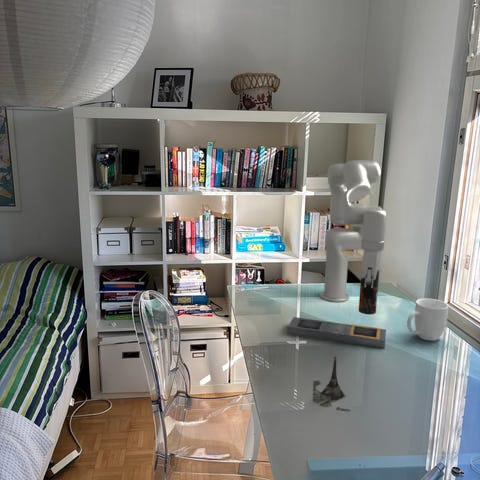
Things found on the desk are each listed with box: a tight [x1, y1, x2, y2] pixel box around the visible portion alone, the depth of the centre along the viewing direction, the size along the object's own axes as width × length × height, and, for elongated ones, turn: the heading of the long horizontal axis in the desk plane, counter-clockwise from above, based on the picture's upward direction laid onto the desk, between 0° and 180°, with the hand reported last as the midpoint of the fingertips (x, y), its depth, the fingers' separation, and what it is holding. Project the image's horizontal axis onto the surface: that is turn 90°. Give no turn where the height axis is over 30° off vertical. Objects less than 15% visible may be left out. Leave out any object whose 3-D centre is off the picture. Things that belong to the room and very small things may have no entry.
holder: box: [287, 316, 387, 349], centre depth 175 cm, size 10×34×3 cm, turn 72°
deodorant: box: [358, 269, 380, 315], centre depth 169 cm, size 6×6×15 cm
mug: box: [406, 298, 449, 342], centre depth 174 cm, size 15×11×13 cm
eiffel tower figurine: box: [312, 354, 351, 412], centre depth 135 cm, size 15×10×13 cm
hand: (368, 295), depth 169 cm, fingers closed on deodorant, 5 cm apart
